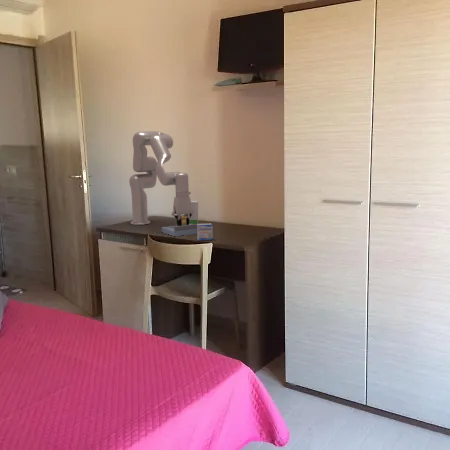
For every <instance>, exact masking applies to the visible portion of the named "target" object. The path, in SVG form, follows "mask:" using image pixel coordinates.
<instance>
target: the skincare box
mask: <svg viewBox="0 0 450 450" xmlns="http://www.w3.org/2000/svg"><path fill="white" fill-rule="evenodd" d="M191 206H192V210H193V211H194V213H193V214H192V216H191V217H190V219H189V224H199V201H198V200H191ZM183 215H185V214H183Z"/></svg>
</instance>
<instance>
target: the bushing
mask: <svg viewBox="0 0 450 450" xmlns="http://www.w3.org/2000/svg"><path fill="white" fill-rule="evenodd" d="M187 218H188V216H187V215H184V214H182V215H181V216H180V220H181V226H183V225H187Z"/></svg>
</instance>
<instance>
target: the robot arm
mask: <svg viewBox="0 0 450 450" xmlns="http://www.w3.org/2000/svg"><path fill="white" fill-rule="evenodd" d="M147 146H150V147H151V150H152V151H153V153H154V156H155V158H154V157H153V156H148V149H147ZM173 146H174V140H173V137H172V136H171V135H169V134H168V133H164V132H161V131H156V130H154V131H152V130H151V131H138V132H137V131H136V133H134V134H133V136H132V147H133V155H132V169H133V171H134V172H135V174H132V175H131V176H130V178H129V187H130V194H131V206H132V207H131V209H132V210H131V211H132V220H131V221H130V225H136V226H137V225H138V226H140V225H149V224H150V223H151V220H149V219H148V197H147V193H146V191H145V189H151V188H154V187H155V186H156V184H157V178H158V181H159V182H160V183H161V185H162V186H165V187H167V186H168V187H169V186H175V197H174V198H173V206H172V207H173V208H172V212H171V216H173V217H174V218H175V219H176V226H177V225H178V226H181V220H180V216H181V215H184V214H185V215H187V216H188V218H187V225H189V219H190V217H191V216H192V214H193V213H194V211H193V210H192V206H191V201H192V200H191V197H190V195H191V194H192V193H191V192H192V191H189V189H190V188H189V186H190V185H189V174H188V173H187V172H180V171H169V172H166V170H165V168H164V164H166V163H167V162H170V159H171V158H172V155H171V153H170V150H169V149H171V148H173Z"/></svg>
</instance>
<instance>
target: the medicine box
mask: <svg viewBox="0 0 450 450" xmlns="http://www.w3.org/2000/svg"><path fill="white" fill-rule="evenodd" d="M213 229H214V227H213V224H212V223H210V222H209V223H203V224H200V223H198V224H197V234H196V238H197V239H196V240H197V241H199V242H202V240H205V241H213V239H214V236H213V231H214V230H213Z"/></svg>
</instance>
